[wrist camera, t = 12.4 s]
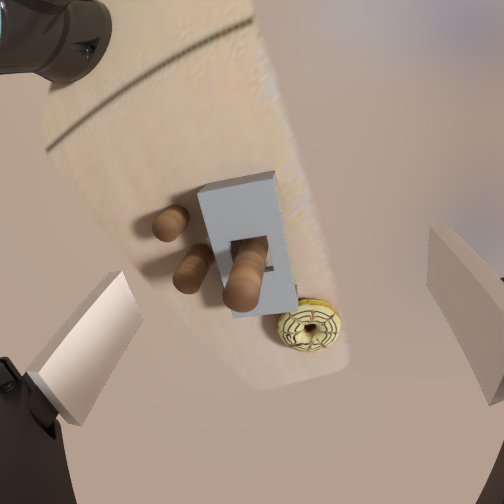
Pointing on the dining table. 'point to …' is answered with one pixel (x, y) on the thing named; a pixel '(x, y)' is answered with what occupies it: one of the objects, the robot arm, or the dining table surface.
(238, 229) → the bridge
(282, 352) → the dining table surface
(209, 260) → the medium dowel
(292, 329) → the decorated donut
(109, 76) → the dining table surface
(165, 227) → the short dowel
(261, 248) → the long dowel
